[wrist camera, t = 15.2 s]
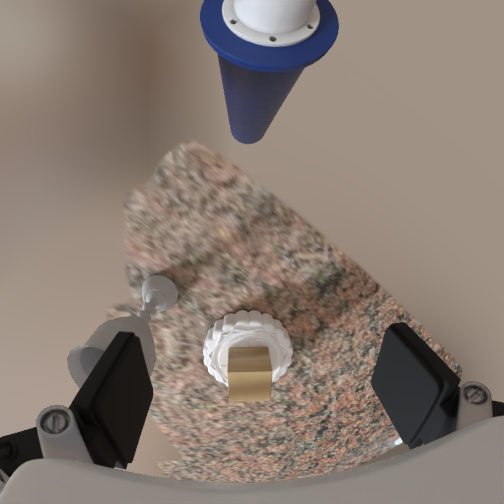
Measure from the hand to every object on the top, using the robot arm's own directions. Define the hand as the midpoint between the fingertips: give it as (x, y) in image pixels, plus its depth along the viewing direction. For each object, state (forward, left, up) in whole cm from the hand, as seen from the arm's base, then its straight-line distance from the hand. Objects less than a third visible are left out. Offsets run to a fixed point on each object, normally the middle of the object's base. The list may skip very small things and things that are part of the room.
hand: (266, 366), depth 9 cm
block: (+16, 0, -21) cm, 26 cm away
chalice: (+8, -12, -24) cm, 28 cm away
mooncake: (+16, 0, -24) cm, 29 cm away
